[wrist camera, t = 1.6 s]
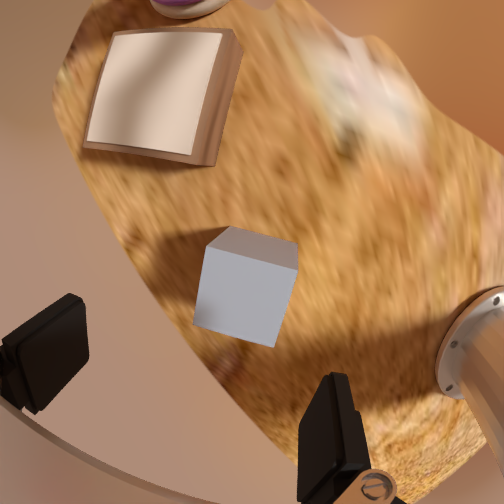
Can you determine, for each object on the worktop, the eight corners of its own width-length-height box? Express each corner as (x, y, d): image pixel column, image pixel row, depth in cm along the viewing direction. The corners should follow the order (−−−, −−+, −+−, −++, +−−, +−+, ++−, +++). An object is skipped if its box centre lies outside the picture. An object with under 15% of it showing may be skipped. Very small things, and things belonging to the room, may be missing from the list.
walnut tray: (243, 52, 18) (231, 27, 13) (215, 165, 20) (195, 164, 16) (139, 48, 18) (111, 30, 14) (113, 148, 21) (80, 147, 17)
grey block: (297, 243, 21) (298, 270, 15) (279, 304, 22) (273, 347, 17) (230, 225, 21) (206, 246, 16) (217, 287, 23) (192, 324, 17)
